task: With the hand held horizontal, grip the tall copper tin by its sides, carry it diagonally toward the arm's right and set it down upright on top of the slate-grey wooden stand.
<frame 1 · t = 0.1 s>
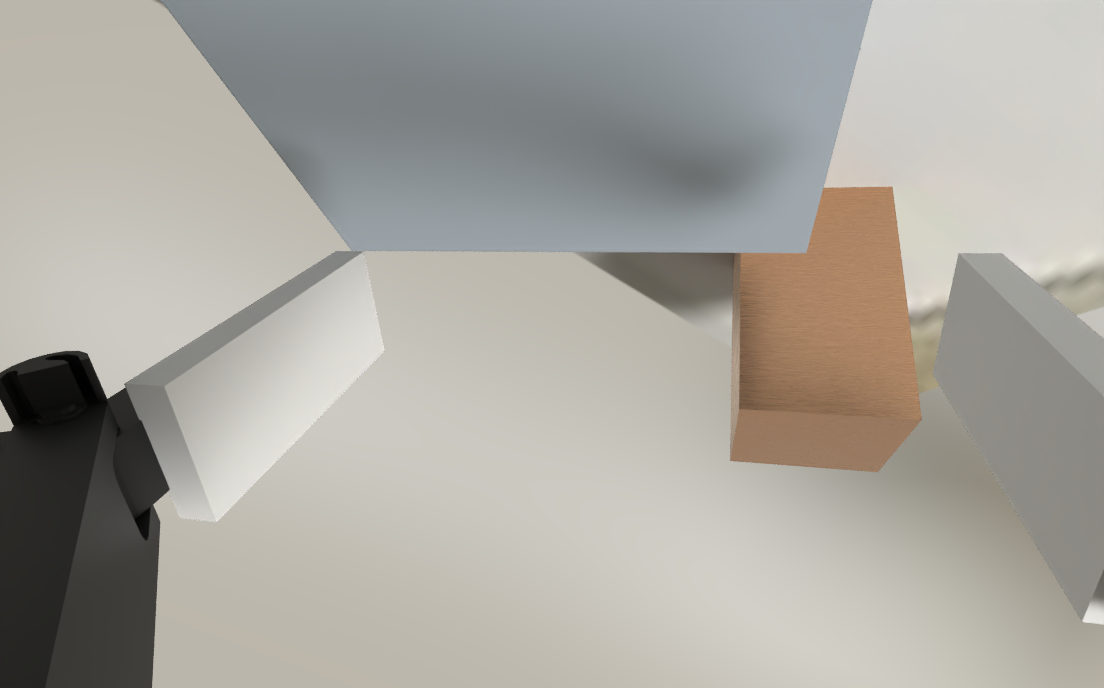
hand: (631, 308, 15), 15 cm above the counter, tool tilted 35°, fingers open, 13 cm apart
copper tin: (804, 231, 35), on the counter
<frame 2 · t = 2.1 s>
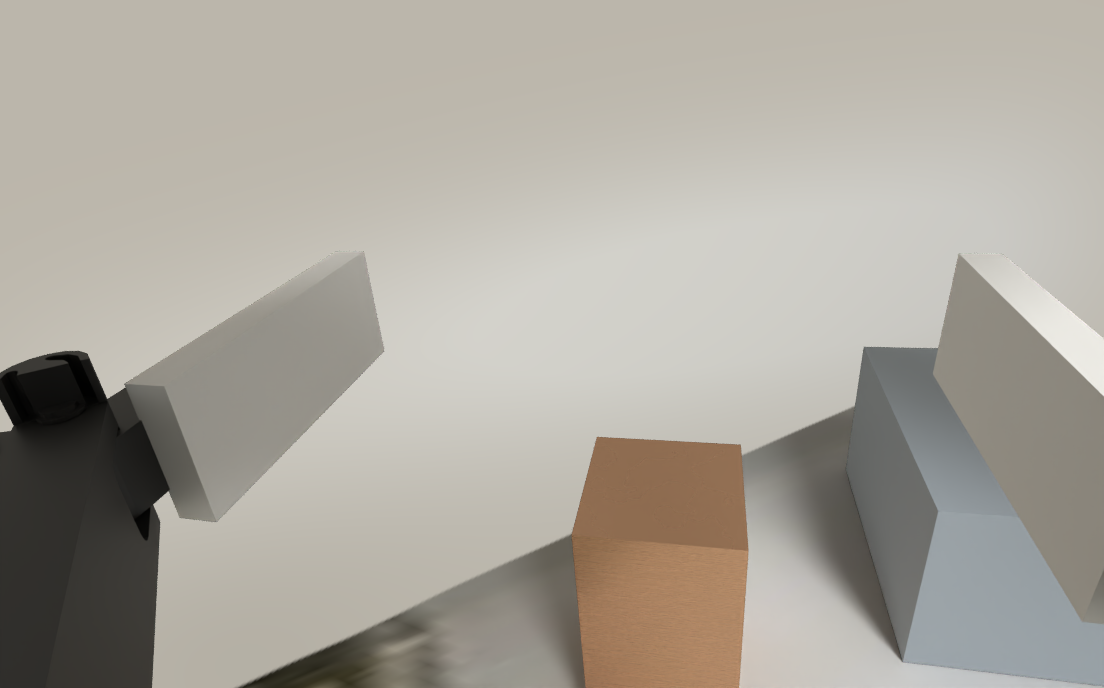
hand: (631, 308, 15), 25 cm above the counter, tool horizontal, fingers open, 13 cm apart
stand: (1015, 561, 38), on the counter
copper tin: (664, 665, 34), on the counter
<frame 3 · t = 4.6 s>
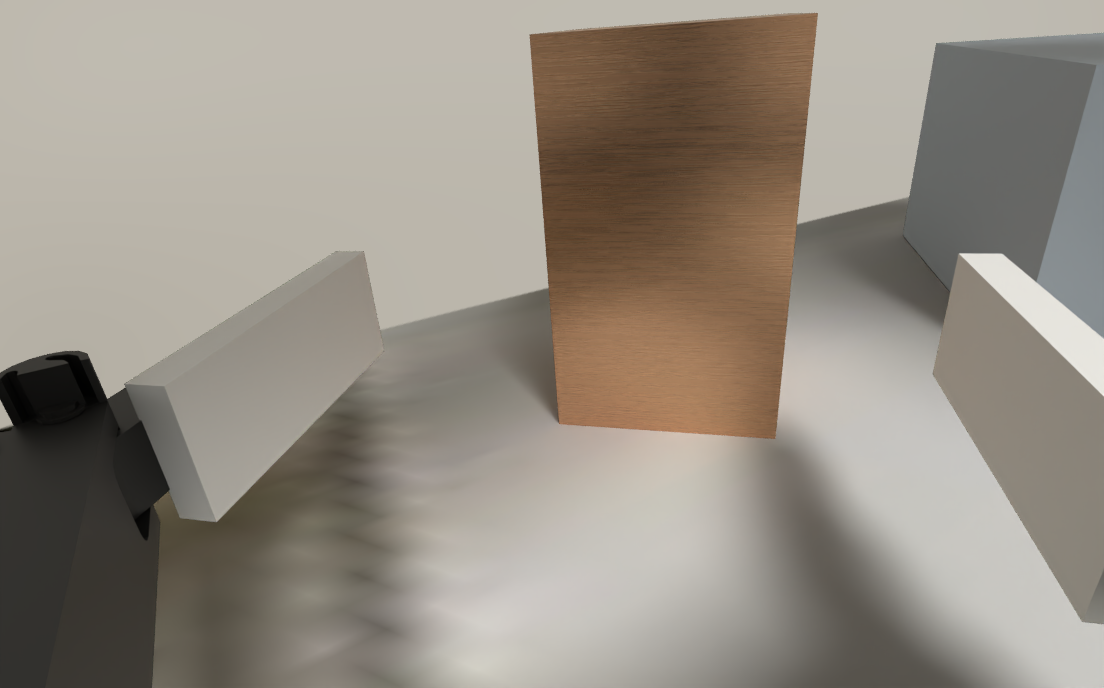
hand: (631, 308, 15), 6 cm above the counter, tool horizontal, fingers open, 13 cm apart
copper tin: (670, 378, 24), on the counter
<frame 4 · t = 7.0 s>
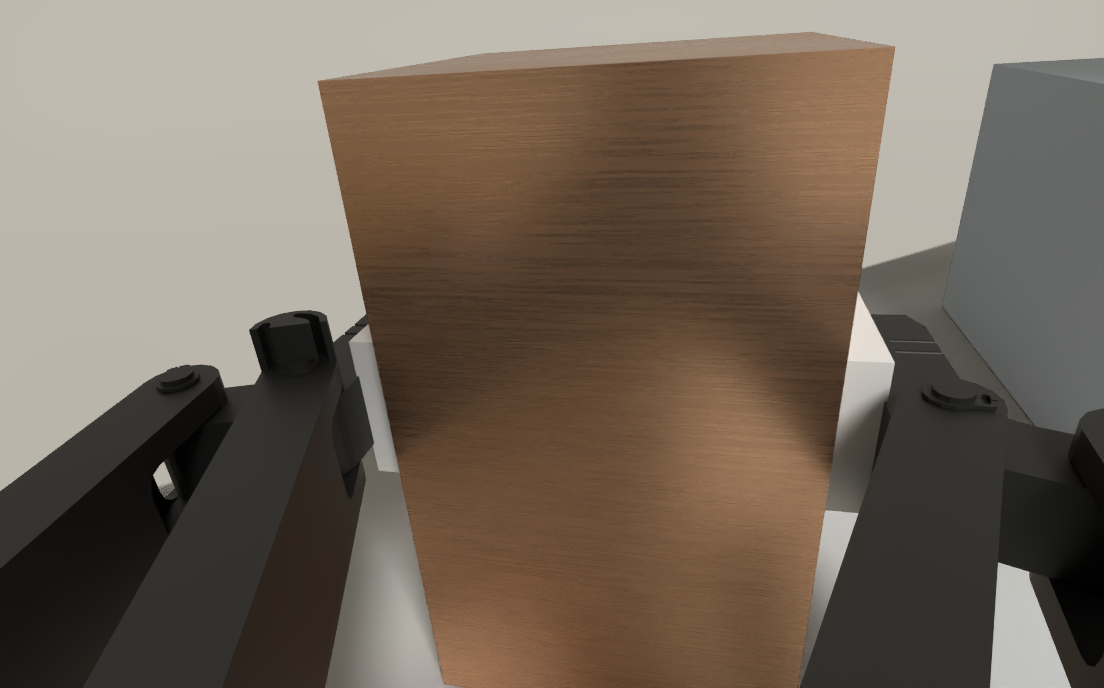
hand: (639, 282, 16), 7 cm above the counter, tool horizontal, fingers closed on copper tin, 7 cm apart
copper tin: (626, 579, 16), on the counter, touching gripper
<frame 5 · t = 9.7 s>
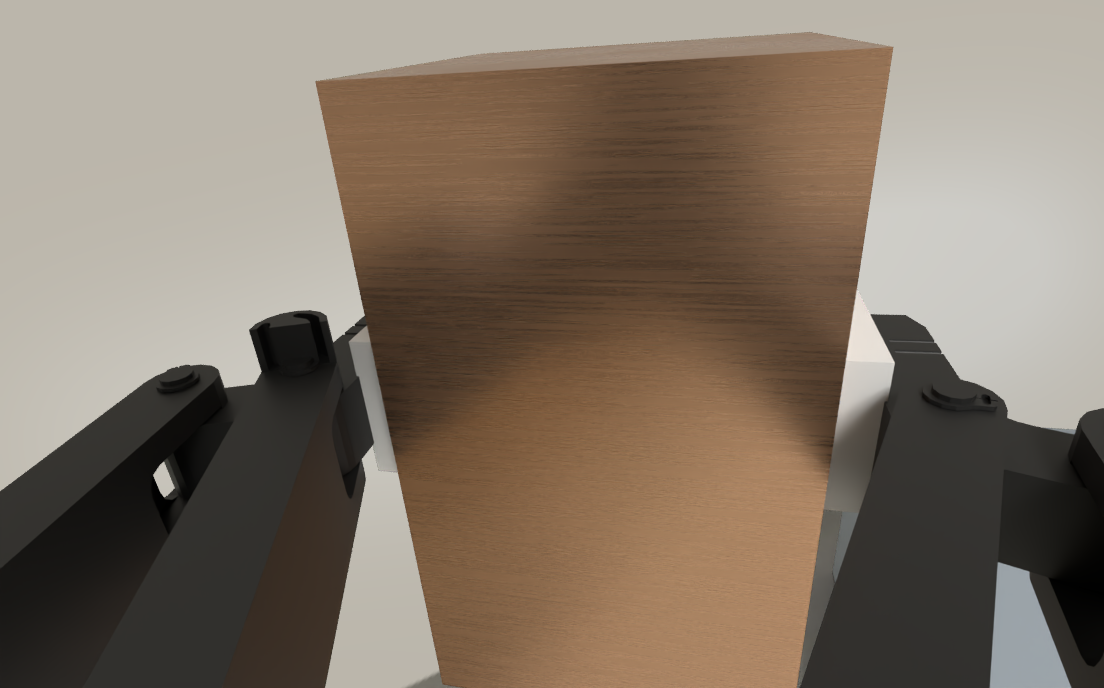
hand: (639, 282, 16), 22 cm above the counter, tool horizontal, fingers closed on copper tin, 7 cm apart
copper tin: (625, 579, 16), point 15 cm above the counter, touching gripper
when the fingers open (18 cm above the counter, at t = 12.3 s): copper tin drops 1 cm, resting on stand.
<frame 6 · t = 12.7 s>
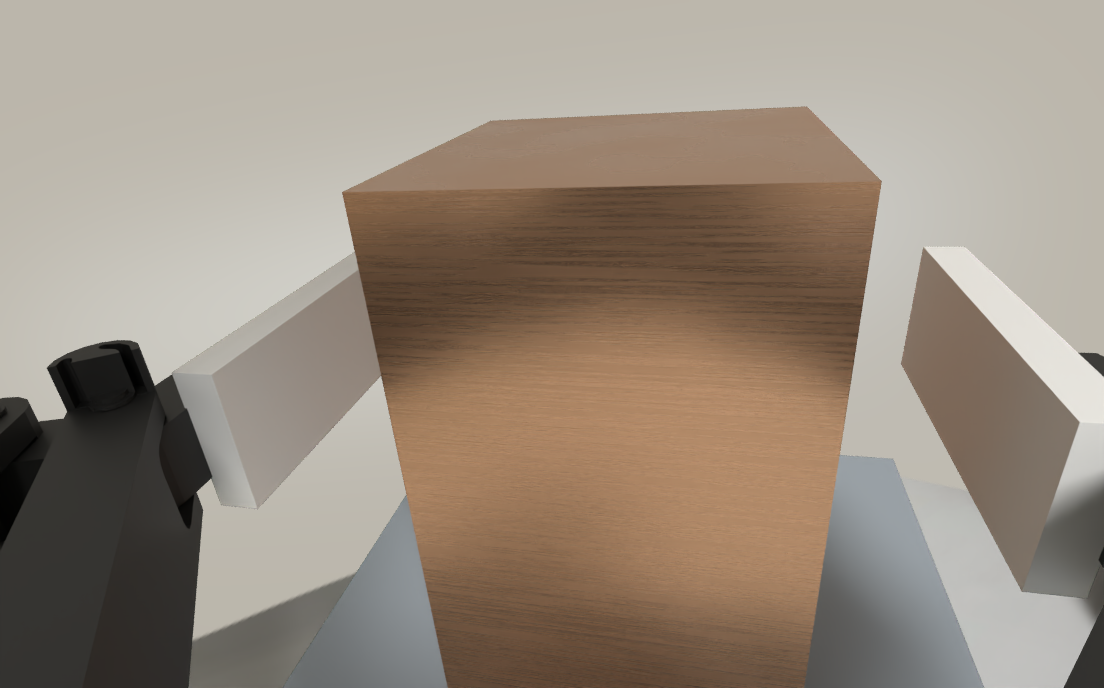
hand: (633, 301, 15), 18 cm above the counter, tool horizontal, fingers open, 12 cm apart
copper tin: (631, 622, 17), point 10 cm above the counter, touching stand
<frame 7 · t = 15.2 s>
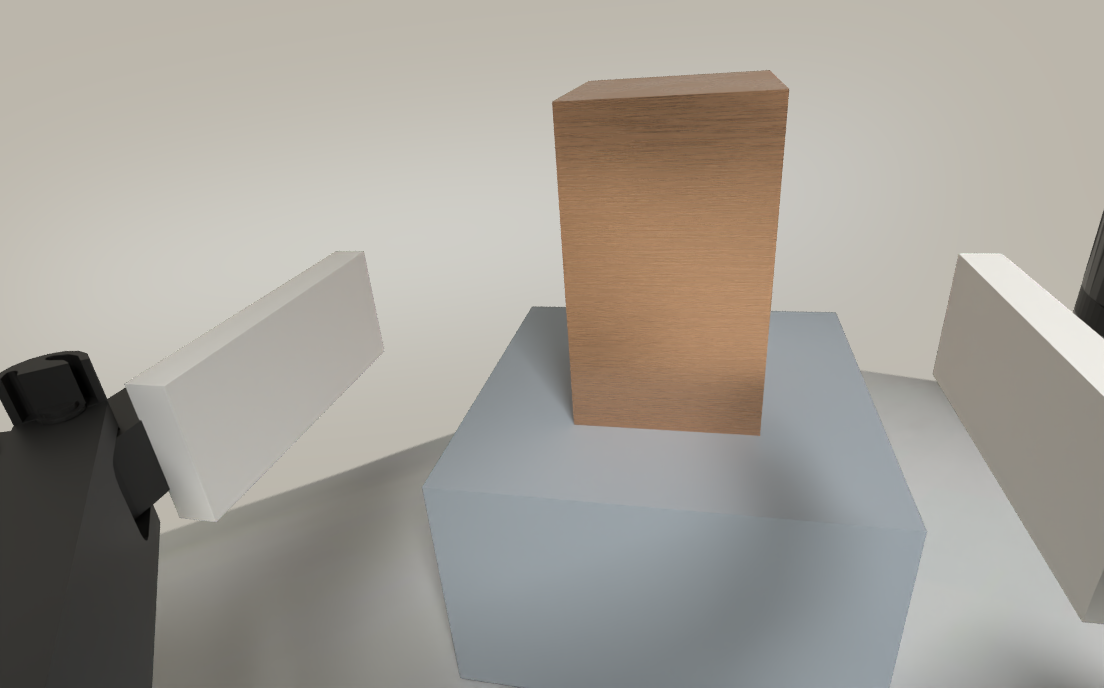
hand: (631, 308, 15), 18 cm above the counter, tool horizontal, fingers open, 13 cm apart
stand: (666, 557, 32), on the counter
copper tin: (669, 384, 28), point 10 cm above the counter, touching stand
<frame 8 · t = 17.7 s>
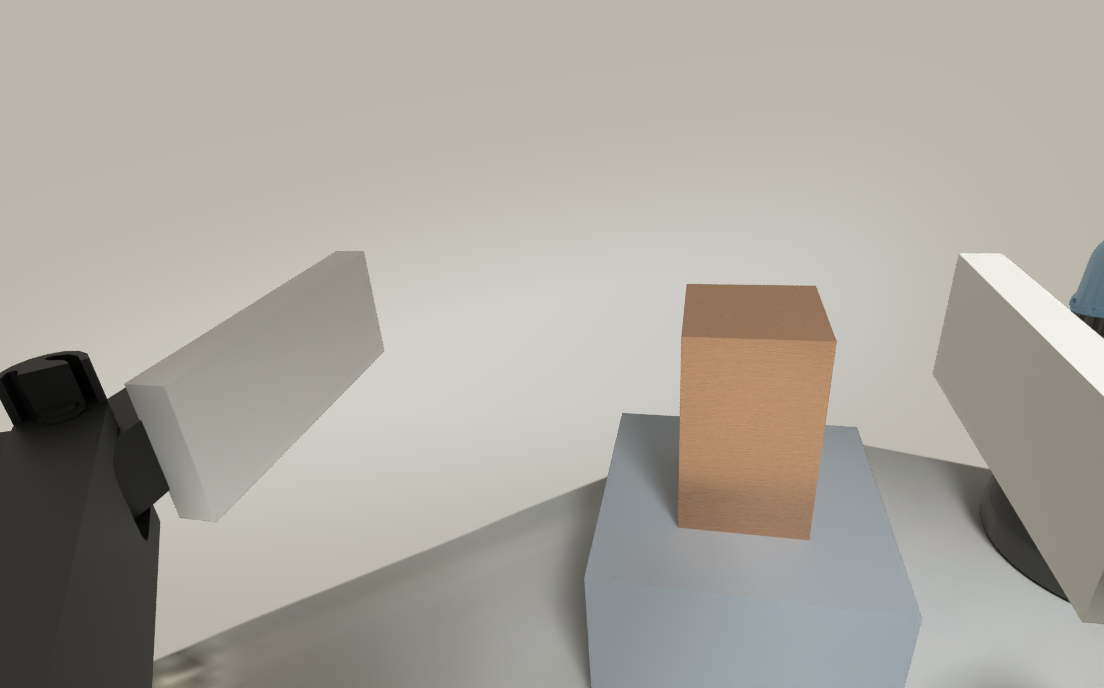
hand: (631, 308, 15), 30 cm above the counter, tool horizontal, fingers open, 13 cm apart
stand: (729, 611, 43), on the counter
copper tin: (739, 493, 39), point 10 cm above the counter, touching stand
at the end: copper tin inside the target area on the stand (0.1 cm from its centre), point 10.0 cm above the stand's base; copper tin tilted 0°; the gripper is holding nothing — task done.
